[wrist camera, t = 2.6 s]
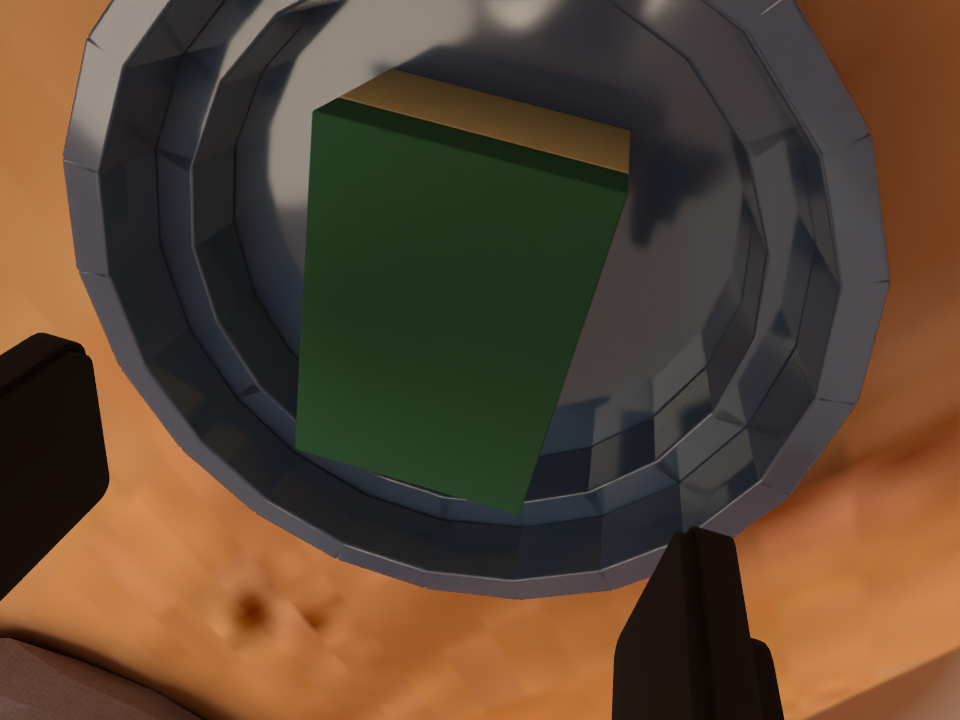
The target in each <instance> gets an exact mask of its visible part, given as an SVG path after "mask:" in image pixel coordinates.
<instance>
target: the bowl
mask: <svg viewBox="0 0 960 720" xmlns="http://www.w3.org/2000/svg"><path fill="white" fill-rule="evenodd" d="M390 69H395V70H399V71H402V72H406V73H410V74H414V75H418V76H422V77H426V78H429V79H433V80H437V81H441V82H445V83H449V84H452V85H456V86H460V87H464V88H468V89H472V90H476V91H479V92H483V93H487V94H491V95H495V96H499V97H503V98H506V99H510V100H514V101H518V102H522V103H526V104H530V105H533V106H537V107H541V108H545V109H549V110H553V111H557V112H560V113H564V114H568V115H572V116H576V117H580V118H584V119H587V120H591V121H595V122H599V123H603V124H607V125H611V126H614V127H618V128H622V129H626V130H629V131H630V133H631V134H630V154H629V174H628V193H627V199H626V202H625V205H624V208H623V211H622V214H621V216H620V219H619V222H618V225H617V228H616V231H615V234H614V237H613V240H612V243H611V246H610V249H609V252H608V255H607V258H606V261H605V264H604V267H603V270H602V273H601V276H600V279H599V282H598V284H597V287H596V290H595V293H594V296H593V299H592V302H591V305H590V308H589V311H588V314H587V317H586V320H585V323H584V326H583V329H582V332H581V335H580V338H579V341H578V344H577V347H576V350H575V353H574V355H573V358H572V361H571V364H570V367H569V370H568V373H567V376H566V379H565V382H564V385H563V388H562V391H561V394H560V397H559V400H558V403H557V406H556V409H555V412H554V415H553V418H552V421H551V423H550V426H549V429H548V432H547V435H546V438H545V441H544V444H543V447H542V450H541V453H540V456H539V459H538V462H537V465H536V468H535V471H534V474H533V477H532V480H531V483H530V486H529V489H528V492H527V494H526V497H525V500H524V503H523V506H522V509H521V512H520V514H519V515H517V514H513V513H510V512H506V511H503V510H500V509H496V508H493V507H490V506H486V505H483V504H479V503H476V502H473V501H469V500H466V499H463V498H459V497H456V496H452V495H449V494H446V493H442V492H439V491H436V490H432V489H429V488H425V487H422V486H419V485H415V484H412V483H409V482H405V481H402V480H399V479H395V478H392V477H388V476H385V475H382V474H378V473H375V472H372V471H368V470H365V469H361V468H358V467H355V466H351V465H348V464H345V463H341V462H338V461H334V460H331V459H328V458H324V457H321V456H318V455H314V454H311V453H307V452H304V451H301V450H297V449H295V435H296V416H297V397H298V378H299V358H300V339H301V320H302V301H303V282H304V263H305V243H306V224H307V205H308V186H309V167H310V148H311V128H312V112H313V110H315V109H317V108H319V107H321V106H323V105H325V104H326V103H328V102H330V101H332V100H334V99H336V98H339V96H341V95H343V94H345V93H347V92H349V91H351V90H352V89H354V88H356V87H358V86H360V85H362V84H364V83H366V82H367V81H369V80H371V79H373V78H375V77H377V76H379V75H381V74H382V73H384V72H386V71H388V70H390ZM63 157H64V158H63V165H64V173H65V181H66V188H67V196H68V204H69V212H70V219H71V227H72V235H73V242H74V250H75V258H76V265H77V269H78V270H79V274H80V276H81V279H82V281H83V283H84V286H85V288H86V290H87V293H88V295H89V297H90V300H91V302H92V304H93V307H94V309H95V311H96V314H97V316H98V318H99V321H100V323H101V325H102V328H103V330H104V332H105V335H106V337H107V339H108V342H109V344H110V346H111V349H112V351H113V353H114V356H115V358H116V360H117V363H118V365H119V366H120V367H122V368H121V369H122V371H123V372H124V374H125V375H126V376H127V378H128V379H129V380H130V382H131V383H132V384H133V386H134V387H135V388H136V390H137V391H138V392H139V394H140V395H141V396H142V398H143V399H144V400H145V402H146V403H147V404H148V406H149V407H150V408H151V410H152V411H153V412H154V414H155V415H156V416H157V418H158V419H159V420H160V422H161V423H162V424H163V426H164V427H165V428H166V430H167V431H168V432H169V434H170V435H171V436H172V438H173V439H174V441H175V442H176V443H177V445H178V446H179V447H183V448H182V450H183V451H184V452H185V453H186V454H187V455H188V456H189V457H191V458H192V459H193V460H194V461H195V462H196V463H198V464H199V465H200V466H201V467H202V468H203V469H204V470H206V471H207V472H208V473H209V474H210V475H211V476H213V477H214V478H215V479H216V480H217V481H218V482H219V483H221V484H222V485H223V486H224V487H225V488H226V489H228V490H229V491H230V492H231V493H232V494H233V495H234V496H236V497H237V498H238V499H239V500H240V501H241V502H243V503H244V504H245V505H246V506H247V507H248V508H249V509H251V510H252V511H256V514H257V515H259V516H261V517H263V518H265V519H266V520H268V521H270V522H272V523H273V524H275V525H277V526H279V527H280V528H282V529H284V530H286V531H288V532H289V533H291V534H293V535H295V536H296V537H298V538H300V539H302V540H303V541H305V542H307V543H309V544H311V545H312V546H314V547H316V548H318V549H319V550H321V551H323V552H325V553H326V554H328V555H330V556H332V557H333V558H337V557H338V559H339V560H341V561H344V562H347V563H350V564H353V565H356V566H359V567H362V568H365V569H368V570H371V571H374V572H377V573H380V574H383V575H386V576H389V577H392V578H395V579H398V580H401V581H404V582H407V583H410V584H413V585H416V586H419V587H425V586H426V589H430V590H439V591H447V592H456V593H464V594H473V595H482V596H490V597H499V598H507V599H519V600H523V599H533V598H543V597H553V596H563V595H573V594H583V593H593V592H603V591H611V590H612V589H618V588H621V587H624V586H626V585H629V584H632V583H635V582H638V581H640V580H643V579H646V578H649V577H651V576H652V574H653V572H654V570H655V568H656V566H657V565H658V563H659V561H660V559H661V557H662V555H663V553H664V551H665V549H666V548H667V546H668V544H669V542H670V540H671V538H672V536H673V535H674V533H675V532H677V531H679V532H682V533H687V531H688V530H689V528H691V527H692V526H697V527H700V528H704V529H707V530H710V531H714V532H717V533H720V534H724V535H727V536H731V537H732V538H734V537H735V536H736V535H738V534H739V533H741V532H742V531H743V530H745V529H746V528H747V527H749V526H750V525H752V524H753V523H754V522H756V521H757V520H759V519H760V518H761V517H763V516H764V515H766V514H767V513H768V512H770V511H771V510H773V509H774V508H775V507H777V506H778V505H780V504H781V503H782V502H784V501H785V500H786V499H788V498H789V497H790V494H792V493H793V492H794V490H795V489H796V487H797V486H798V485H799V483H800V482H801V481H802V479H803V478H804V476H805V475H806V474H807V472H808V471H809V469H810V468H811V467H812V465H813V464H814V463H815V461H816V460H817V458H818V457H819V456H820V454H821V453H822V451H823V450H824V449H825V447H826V446H827V445H828V443H829V442H830V440H831V439H832V438H833V436H834V435H835V433H836V432H837V431H838V429H839V428H840V427H841V425H842V424H843V422H844V421H845V420H846V418H847V417H848V415H849V414H850V413H851V411H852V410H853V409H854V407H855V404H857V403H858V401H859V397H860V393H861V390H862V386H863V382H864V379H865V375H866V371H867V367H868V364H869V360H870V356H871V353H872V349H873V345H874V341H875V338H876V334H877V330H878V327H879V323H880V319H881V316H882V312H883V308H884V304H885V301H886V297H887V293H888V290H889V286H890V280H889V279H890V269H889V261H888V253H887V245H886V237H885V229H884V221H883V213H882V205H881V197H880V189H879V181H878V173H877V165H876V156H875V148H874V140H873V136H872V135H871V134H870V133H869V126H868V125H867V123H866V121H865V119H864V118H863V116H862V114H861V112H860V110H859V109H858V107H857V105H856V103H855V102H854V100H853V98H852V96H851V95H850V93H849V91H848V89H847V88H846V86H845V84H844V82H843V80H842V79H841V77H840V75H839V73H838V72H837V70H836V68H835V66H834V65H833V63H832V61H831V59H830V57H829V56H828V54H827V52H826V50H825V49H824V47H823V45H822V43H821V42H820V40H819V38H818V36H817V35H816V33H815V31H814V29H813V27H812V26H811V24H810V22H809V20H808V19H807V17H806V15H805V13H804V12H803V10H802V8H801V6H800V5H799V3H798V1H797V0H112V1H111V2H110V4H109V5H108V7H107V8H106V10H105V11H104V13H103V14H102V16H101V17H100V19H99V20H98V22H97V23H96V25H95V26H94V28H93V29H92V31H91V32H90V34H89V38H87V40H86V43H85V48H84V53H83V58H82V63H81V68H80V73H79V78H78V83H77V88H76V93H75V97H74V102H73V107H72V112H71V117H70V122H69V127H68V132H67V137H66V142H65V147H64V152H63Z"/></svg>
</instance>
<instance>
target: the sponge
mask: <svg viewBox="0 0 960 720" xmlns="http://www.w3.org/2000/svg"><path fill="white" fill-rule="evenodd" d="M630 134H631V133H630V131H629V130H626V129H622V128H618V127H614V126H611V125H607V124H603V123H599V122H595V121H591V120H587V119H584V118H580V117H576V116H572V115H568V114H564V113H560V112H557V111H553V110H549V109H545V108H541V107H537V106H533V105H530V104H526V103H522V102H518V101H514V100H510V99H506V98H503V97H499V96H495V95H491V94H487V93H483V92H479V91H476V90H472V89H468V88H464V87H460V86H456V85H452V84H449V83H445V82H441V81H437V80H433V79H429V78H426V77H422V76H418V75H414V74H410V73H406V72H402V71H399V70H395V69H390V70H388V71H386V72H384V73H382V74H381V75H379V76H377V77H375V78H373V79H371V80H369V81H367V82H366V83H364V84H362V85H360V86H358V87H356V88H354V89H352V90H351V91H349V92H347V93H345V94H343V95H341V96H339V98H336V99H334V100H332V101H330V102H328V103H326V104H325V105H323V106H321V107H319V108H317V109H315V110H313V112H312V128H311V148H310V167H309V186H308V205H307V224H306V243H305V263H304V282H303V301H302V320H301V339H300V358H299V378H298V397H297V416H296V435H295V449H297V450H301V451H304V452H307V453H311V454H314V455H318V456H321V457H324V458H328V459H331V460H334V461H338V462H341V463H345V464H348V465H351V466H355V467H358V468H361V469H365V470H368V471H372V472H375V473H378V474H382V475H385V476H388V477H392V478H395V479H399V480H402V481H405V482H409V483H412V484H415V485H419V486H422V487H425V488H429V489H432V490H436V491H439V492H442V493H446V494H449V495H452V496H456V497H459V498H463V499H466V500H469V501H473V502H476V503H479V504H483V505H486V506H490V507H493V508H496V509H500V510H503V511H506V512H510V513H513V514H517V515H519V514H520V512H521V509H522V506H523V503H524V500H525V497H526V494H527V492H528V489H529V486H530V483H531V480H532V477H533V474H534V471H535V468H536V465H537V462H538V459H539V456H540V453H541V450H542V447H543V444H544V441H545V438H546V435H547V432H548V429H549V426H550V423H551V421H552V418H553V415H554V412H555V409H556V406H557V403H558V400H559V397H560V394H561V391H562V388H563V385H564V382H565V379H566V376H567V373H568V370H569V367H570V364H571V361H572V358H573V355H574V353H575V350H576V347H577V344H578V341H579V338H580V335H581V332H582V329H583V326H584V323H585V320H586V317H587V314H588V311H589V308H590V305H591V302H592V299H593V296H594V293H595V290H596V287H597V284H598V282H599V279H600V276H601V273H602V270H603V267H604V264H605V261H606V258H607V255H608V252H609V249H610V246H611V243H612V240H613V237H614V234H615V231H616V228H617V225H618V222H619V219H620V216H621V214H622V211H623V208H624V205H625V202H626V199H627V193H628V174H629V154H630Z"/></svg>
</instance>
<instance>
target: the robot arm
mask: <svg viewBox="0 0 960 720" xmlns="http://www.w3.org/2000/svg"><path fill="white" fill-rule="evenodd" d="M108 485H109V470H108V463H107V457H106V450H105V443H104V436H103V430H102V423H101V416H100V409H99V403H98V396H97V389H96V382H95V376H94V369H93V363H92V360H91V358H90V357H89V356H87V355H86V353H85V350H84V348H83V346H82V345H81V344H79V343H77V342H74V341H70V340H67V339H64V338H60V337H57V336H53V335H50V334H47V333H37V334H35V335H32V336H30V337H29V338H27V339H26V340H24V341H22V342H21V343H19V344H18V345H16V346H14V347H13V348H11V349H10V350H8V351H7V352H5V353H3V354H2V355H0V601H1V600H2V599H3V598H4V597H5V596H6V595H7V594H8V593H9V592H10V591H11V590H12V589H13V588H14V587H15V586H16V585H17V584H18V583H19V582H20V581H21V580H22V579H23V578H24V577H25V576H26V575H27V574H28V573H29V572H30V571H31V570H32V569H33V568H34V567H35V566H36V565H37V564H38V563H39V561H40V560H41V559H42V558H43V557H44V556H45V555H46V554H47V553H48V552H49V551H50V550H51V549H52V548H53V547H54V546H55V545H56V544H57V543H58V542H59V541H60V540H61V539H62V538H63V537H64V536H65V535H66V534H67V533H68V532H69V531H70V530H71V529H72V528H73V527H74V526H75V525H76V524H77V523H78V522H79V521H80V520H81V519H82V518H83V517H84V516H85V515H86V514H87V513H88V512H89V511H90V510H91V509H92V508H93V507H94V506H95V505H96V504H97V503H98V502H99V501H100V499H101V498H102V497H103V496H104V494H105V492H106V490H107V488H108ZM612 720H784V716H783V710H782V705H781V700H780V694H779V689H778V684H777V679H776V673H775V668H774V663H773V659H772V656H771V652H770V650H769V648H768V647H767V645H766V644H765V643H764V642H762V641H760V640H757V639H753V638H750V632H749V626H748V620H747V614H746V608H745V601H744V595H743V589H742V583H741V577H740V570H739V564H738V558H737V552H736V546H735V542H734V540H733V538H732V537H731V536H727V535H724V534H720V533H717V532H714V531H710V530H707V529H704V528H700V527H697V526H692V527H691V528H689V530H688V531H687V533H682V532H679V531H677V532H675V533H674V535H673V536H672V538H671V540H670V542H669V544H668V546H667V548H666V549H665V551H664V553H663V555H662V557H661V559H660V561H659V563H658V565H657V566H656V568H655V570H654V572H653V574H652V576H651V578H650V580H649V581H648V583H647V585H646V587H645V589H644V591H643V593H642V595H641V596H640V598H639V600H638V602H637V604H636V606H635V608H634V610H633V611H632V613H631V615H630V617H629V619H628V621H627V623H626V625H625V626H624V628H623V630H622V632H621V634H620V636H619V638H618V642H617V645H616V649H615V655H614V674H613V701H612Z"/></svg>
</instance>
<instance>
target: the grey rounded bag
mask: <svg viewBox="0 0 960 720" xmlns="http://www.w3.org/2000/svg"><path fill="white" fill-rule="evenodd" d="M0 720H202V719H200V718H199V717H197V716H195V715H194V714H192V713H190V712H189V711H187V710H185V709H184V708H182V707H181V706H179V705H177V704H176V703H174V702H172V701H171V700H169V699H167V698H166V697H164V696H162V695H161V694H159V693H157V692H156V691H154V690H151V689H149V688H146V687H144V686H141V685H139V684H136V683H134V682H132V681H129V680H127V679H124V678H122V677H119V676H117V675H114V674H112V673H109V672H107V671H104V670H102V669H99V668H97V667H95V666H92V665H90V664H87V663H85V662H82V661H79V660H76V659H73V658H70V657H67V656H64V655H61V654H58V653H54V652H51V651H48V650H45V649H42V648H39V647H36V646H33V645H30V644H26V643H23V642H20V641H17V640H14V639H11V638H0Z"/></svg>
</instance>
